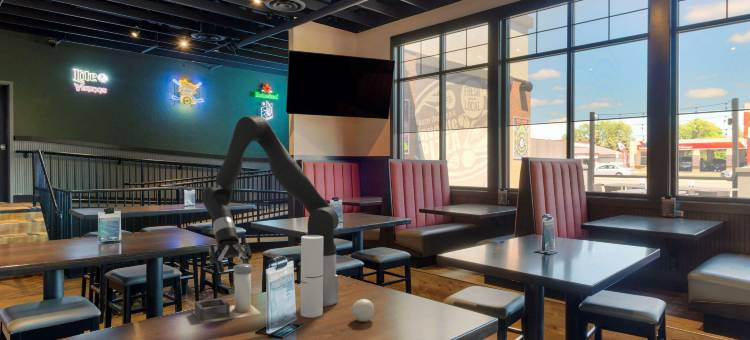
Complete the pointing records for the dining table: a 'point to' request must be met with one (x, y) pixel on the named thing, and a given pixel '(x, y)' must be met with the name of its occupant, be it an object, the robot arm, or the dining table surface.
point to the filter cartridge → (242, 287)
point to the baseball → (362, 310)
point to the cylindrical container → (311, 276)
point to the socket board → (219, 311)
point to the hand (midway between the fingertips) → (234, 271)
